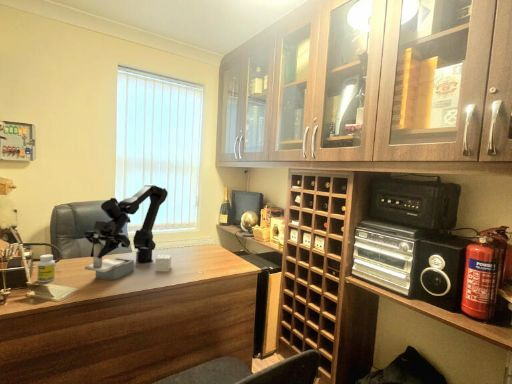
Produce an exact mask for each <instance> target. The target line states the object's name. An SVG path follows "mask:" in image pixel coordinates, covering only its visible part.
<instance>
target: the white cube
mask: <svg viewBox="0 0 512 384" xmlns="http://www.w3.org/2000/svg"><path fill="white" fill-rule="evenodd" d="M154 263H155V267H154V272H169V271H170V270H169V269H171V267H172V254H157V256H156V258H155V262H154Z"/></svg>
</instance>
